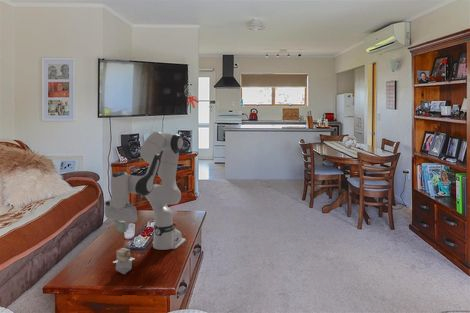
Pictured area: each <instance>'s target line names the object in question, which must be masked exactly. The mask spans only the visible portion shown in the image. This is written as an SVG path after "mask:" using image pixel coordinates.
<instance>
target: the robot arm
mask: <svg viewBox="0 0 470 313" xmlns="http://www.w3.org/2000/svg"><path fill="white" fill-rule="evenodd" d="M183 146H184V139H183V136H182V135H181V134H178V133H171V132H160V131H152V132H151V133H150V134H149V135H148V137H147V138H146V139H145V140H144V142H143V143H142V145H141V147H140V149H139V154H140V157H141V159H142V160H143V161H144V162H145V163H147V164H149V165H148V167H147V169H146V172H145V174H144V175H141V176H140V175H132V174H129V173H127V171H124V170H120V171H115V172H113V173H112V175H111V178H110V190H111V199H109V200H106V201H104V216H105V218H106V219H111V220H113V223H114V228H117V222H118V221H125V223H126V225H125V226H124V229H127V230H128V229H129V225H130V223H132V224H133V223H136V222H137V221H138V220H139V218H138V212H137V207H136V206H135V205H134V204H130V194H134V195H135V194H136V195H140V196H144V197H145V199H147V201H148V202H149V204H150V206H151V207H152V210H153V217H154V218H153V219H154V225H153V228H154V229H153V230H154V231H153V240H152V248H153V249H155V250H158V251H159V250H160V251H162V250H163V251H164V250H166V251H167V250H171V249H172V250H175V249H177V248H178V247H180V246H181V245H183V244H184V243H185V242H186V238H185V237H183V235H182V231H180V230H178V229H177V228H176V227H177V225H178V223H177V222H173V211H172V209H171V208H169V206H168V205H177V204H178V203H180V201H181V199H182V193H181V190H180V189H179V187H178V185H177V180H176V176H177V170H178V166H179V165H178V164H179V152H180V151H181V150H182V148H183ZM161 152H162V153H161ZM157 176H158V177H159V178H160V180H161V184H156V183H155V181H156V177H157Z"/></svg>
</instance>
